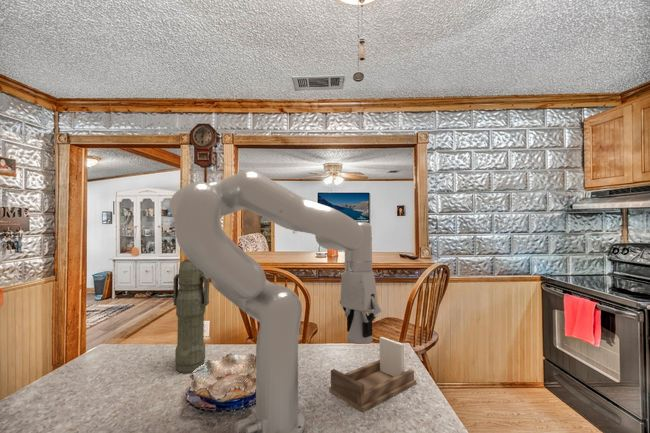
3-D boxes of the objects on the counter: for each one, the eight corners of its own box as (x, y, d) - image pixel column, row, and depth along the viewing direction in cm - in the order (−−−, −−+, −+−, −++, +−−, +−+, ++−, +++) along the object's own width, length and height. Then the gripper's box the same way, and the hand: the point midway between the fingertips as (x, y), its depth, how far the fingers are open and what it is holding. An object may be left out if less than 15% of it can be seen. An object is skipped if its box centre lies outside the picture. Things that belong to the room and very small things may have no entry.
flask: (372, 346, 81) (371, 307, 81) (344, 344, 82) (344, 306, 83) (373, 336, 88) (373, 300, 88) (348, 335, 89) (347, 300, 90)
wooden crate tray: (363, 412, 76) (363, 387, 76) (329, 391, 86) (328, 369, 86) (416, 383, 90) (416, 362, 90) (381, 368, 100) (381, 349, 100)
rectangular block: (401, 380, 89) (401, 345, 90) (379, 370, 96) (379, 337, 96) (404, 379, 90) (403, 344, 91) (382, 369, 96) (381, 336, 97)
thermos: (203, 374, 97) (204, 261, 99) (165, 374, 97) (167, 261, 99) (213, 362, 106) (214, 258, 107) (179, 362, 106) (180, 258, 108)
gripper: (328, 265, 90) (329, 329, 89) (372, 271, 77) (373, 345, 76) (347, 263, 95) (348, 323, 94) (391, 268, 82) (393, 338, 81)
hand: (359, 332), depth 85 cm, fingers closed on flask, 5 cm apart
